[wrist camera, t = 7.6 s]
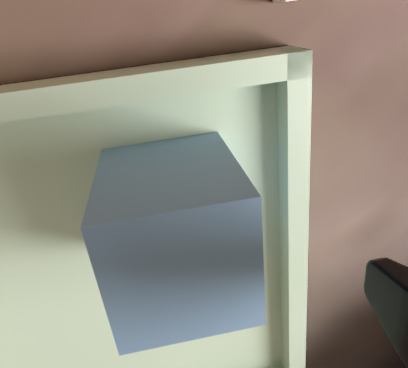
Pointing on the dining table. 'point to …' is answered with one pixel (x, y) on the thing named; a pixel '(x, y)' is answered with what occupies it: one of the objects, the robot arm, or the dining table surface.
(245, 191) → the block
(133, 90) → the tray
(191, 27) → the dining table surface
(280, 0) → the dish
